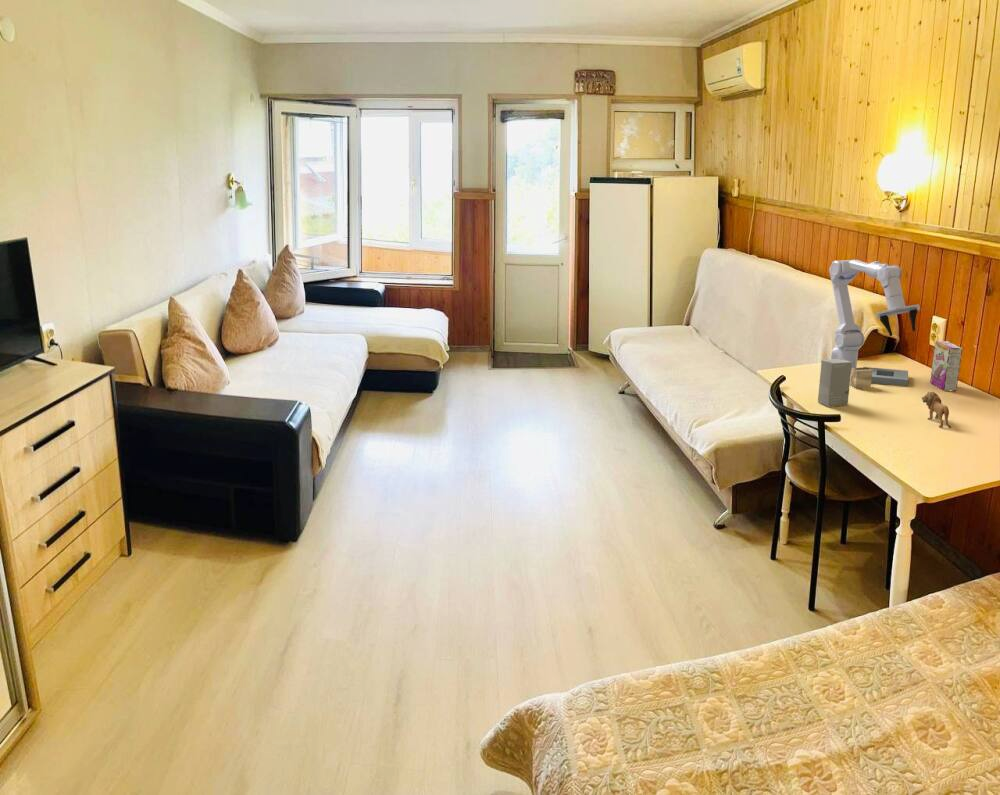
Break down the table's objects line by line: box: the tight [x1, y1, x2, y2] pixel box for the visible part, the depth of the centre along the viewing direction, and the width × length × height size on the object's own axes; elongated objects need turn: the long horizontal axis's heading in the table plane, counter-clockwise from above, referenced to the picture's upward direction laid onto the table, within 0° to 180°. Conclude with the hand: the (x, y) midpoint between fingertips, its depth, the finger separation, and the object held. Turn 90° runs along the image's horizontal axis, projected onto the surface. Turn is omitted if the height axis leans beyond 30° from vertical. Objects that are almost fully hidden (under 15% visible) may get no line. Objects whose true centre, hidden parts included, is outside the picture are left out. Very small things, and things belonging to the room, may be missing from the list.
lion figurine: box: [921, 390, 952, 429], centre depth 272 cm, size 15×5×9 cm, turn 6°
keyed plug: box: [849, 366, 873, 389], centre depth 312 cm, size 4×6×7 cm, turn 95°
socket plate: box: [867, 366, 909, 387], centre depth 321 cm, size 16×14×2 cm
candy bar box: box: [929, 340, 963, 392], centre depth 308 cm, size 11×5×16 cm, turn 179°
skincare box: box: [817, 358, 852, 408], centre depth 292 cm, size 8×7×16 cm
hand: (902, 333), depth 303 cm, fingers open, 7 cm apart
